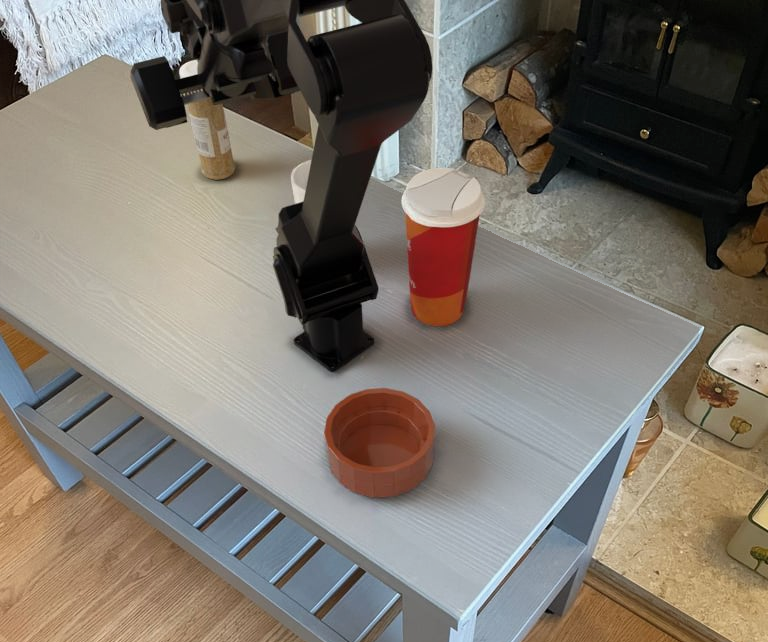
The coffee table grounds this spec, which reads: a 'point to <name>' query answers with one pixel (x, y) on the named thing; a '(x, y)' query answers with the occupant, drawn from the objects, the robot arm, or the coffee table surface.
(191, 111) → the sprinkles bottle
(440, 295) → the coffee cup
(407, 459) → the bowl
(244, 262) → the coffee table surface
